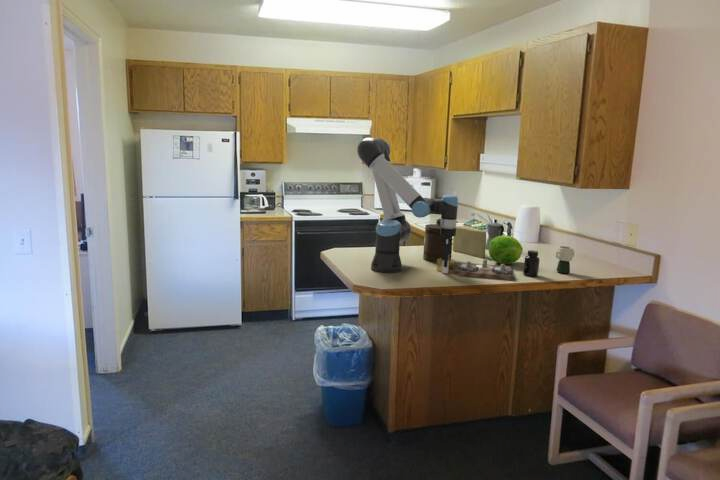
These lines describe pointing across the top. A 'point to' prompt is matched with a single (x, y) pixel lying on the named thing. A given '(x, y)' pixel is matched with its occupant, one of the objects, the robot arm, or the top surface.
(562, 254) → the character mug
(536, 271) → the supplement bottle
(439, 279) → the top surface
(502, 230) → the coffeepot
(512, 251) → the lettuce
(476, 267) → the gear board
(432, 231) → the wooden container
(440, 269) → the faceted octagonal washer
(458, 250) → the beige rectangular block
